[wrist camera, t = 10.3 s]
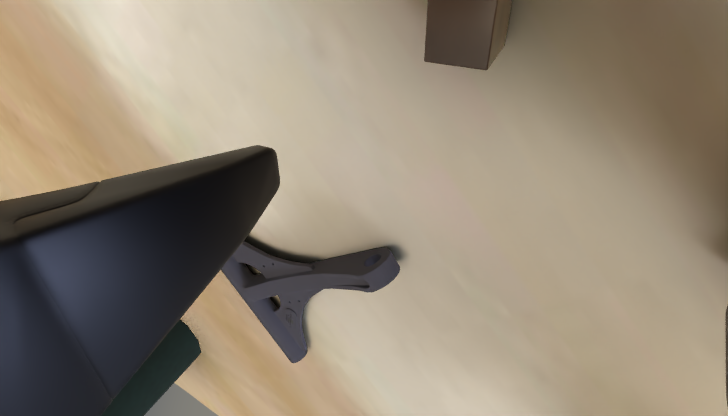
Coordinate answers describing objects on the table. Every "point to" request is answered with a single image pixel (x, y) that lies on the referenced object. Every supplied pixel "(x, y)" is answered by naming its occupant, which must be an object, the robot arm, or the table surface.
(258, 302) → the bracket
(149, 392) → the wine bottle
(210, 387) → the table surface
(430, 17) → the spatula
